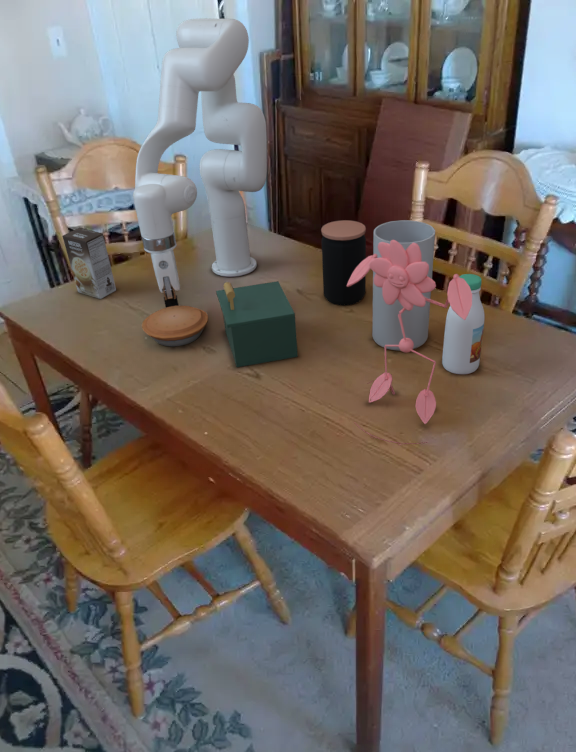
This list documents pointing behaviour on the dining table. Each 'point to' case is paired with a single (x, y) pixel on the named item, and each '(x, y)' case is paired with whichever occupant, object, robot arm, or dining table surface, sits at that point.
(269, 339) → the bread bin
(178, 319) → the pie
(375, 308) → the cylinder vase
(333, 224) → the coffee jar
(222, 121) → the robot arm
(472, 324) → the milk bottle
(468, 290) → the figurine
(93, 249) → the coffee box
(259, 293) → the bread bin lid
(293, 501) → the dining table surface
